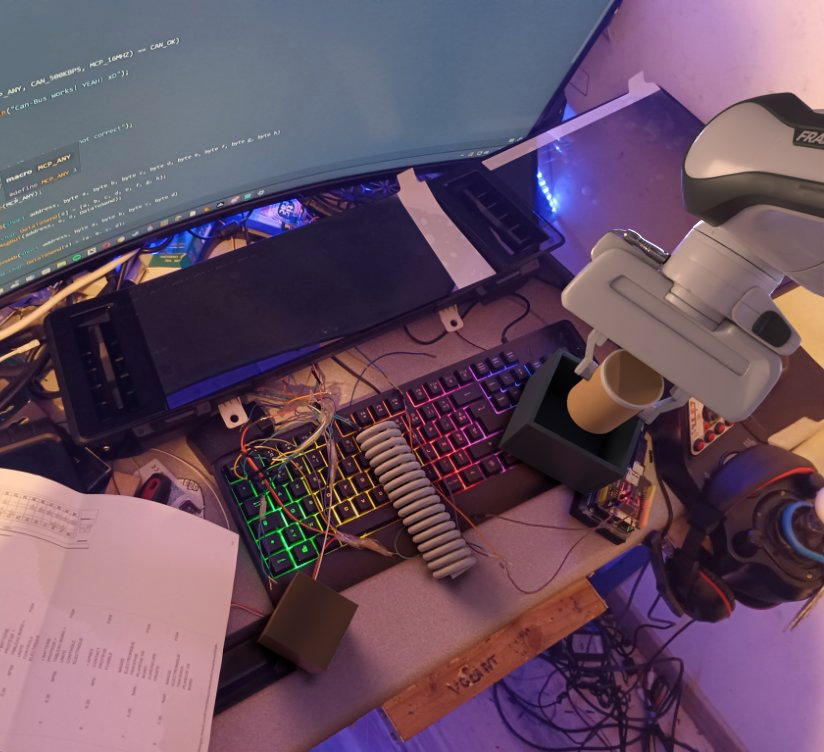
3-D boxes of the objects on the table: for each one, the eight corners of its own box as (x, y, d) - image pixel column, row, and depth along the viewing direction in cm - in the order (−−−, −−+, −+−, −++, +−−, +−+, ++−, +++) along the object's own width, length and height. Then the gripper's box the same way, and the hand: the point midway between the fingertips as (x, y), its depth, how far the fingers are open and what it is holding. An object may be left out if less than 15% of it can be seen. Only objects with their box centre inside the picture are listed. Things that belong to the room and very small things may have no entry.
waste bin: (612, 424, 85) (652, 397, 77) (585, 497, 81) (624, 477, 73) (527, 379, 86) (559, 347, 78) (496, 449, 82) (526, 423, 74)
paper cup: (628, 398, 76) (671, 368, 69) (610, 445, 73) (654, 419, 66) (576, 371, 76) (614, 337, 69) (557, 417, 74) (594, 387, 67)
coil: (486, 561, 72) (396, 409, 77) (450, 582, 70) (360, 425, 75) (467, 570, 76) (383, 425, 81) (432, 590, 74) (348, 441, 79)
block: (339, 617, 72) (359, 605, 62) (310, 673, 69) (326, 671, 59) (287, 586, 72) (298, 570, 62) (257, 642, 70) (264, 634, 60)
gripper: (617, 218, 64) (521, 340, 69) (819, 354, 62) (704, 470, 67) (614, 218, 70) (526, 330, 75) (798, 341, 67) (694, 450, 72)
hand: (611, 397), depth 71 cm, fingers closed on paper cup, 6 cm apart
